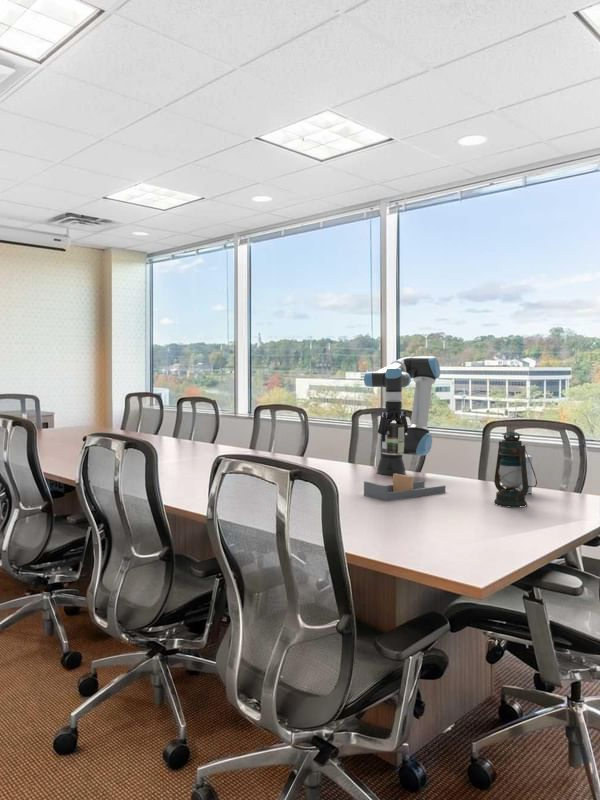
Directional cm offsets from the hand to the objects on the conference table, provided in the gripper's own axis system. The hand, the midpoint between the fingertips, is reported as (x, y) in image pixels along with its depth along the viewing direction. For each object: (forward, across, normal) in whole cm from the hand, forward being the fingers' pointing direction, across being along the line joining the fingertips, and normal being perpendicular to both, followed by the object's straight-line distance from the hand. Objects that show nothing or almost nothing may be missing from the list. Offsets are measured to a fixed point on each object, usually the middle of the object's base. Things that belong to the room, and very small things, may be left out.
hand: (393, 447), depth 293 cm
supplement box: (+18, -37, +42) cm, 59 cm away
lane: (+18, +9, +18) cm, 27 cm away
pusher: (+17, +11, +18) cm, 27 cm away
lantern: (+18, -13, +57) cm, 62 cm away
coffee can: (+3, 0, 0) cm, 3 cm away
